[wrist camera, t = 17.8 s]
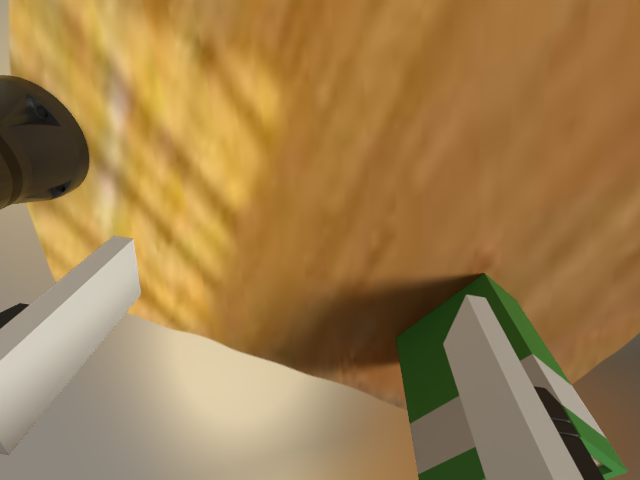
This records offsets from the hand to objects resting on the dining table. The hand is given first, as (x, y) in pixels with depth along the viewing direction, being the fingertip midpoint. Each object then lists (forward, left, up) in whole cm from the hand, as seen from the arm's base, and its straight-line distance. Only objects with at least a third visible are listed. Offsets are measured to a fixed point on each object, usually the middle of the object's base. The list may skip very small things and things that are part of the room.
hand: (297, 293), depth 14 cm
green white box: (+24, -26, -32) cm, 48 cm away
